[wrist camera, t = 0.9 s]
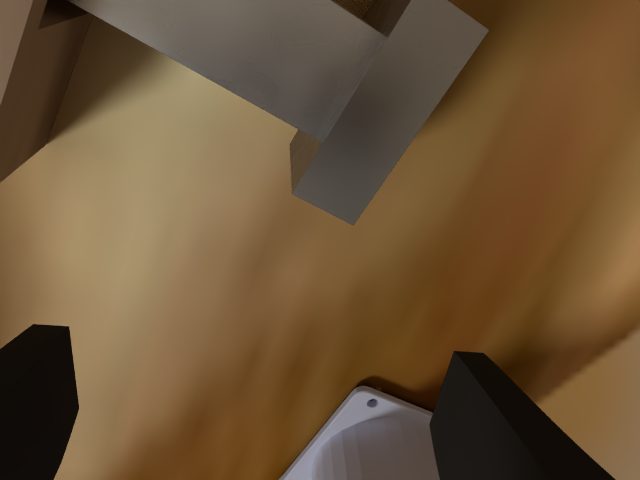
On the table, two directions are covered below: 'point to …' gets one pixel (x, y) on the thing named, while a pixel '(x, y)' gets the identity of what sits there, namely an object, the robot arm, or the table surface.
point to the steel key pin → (318, 75)
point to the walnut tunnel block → (34, 72)
